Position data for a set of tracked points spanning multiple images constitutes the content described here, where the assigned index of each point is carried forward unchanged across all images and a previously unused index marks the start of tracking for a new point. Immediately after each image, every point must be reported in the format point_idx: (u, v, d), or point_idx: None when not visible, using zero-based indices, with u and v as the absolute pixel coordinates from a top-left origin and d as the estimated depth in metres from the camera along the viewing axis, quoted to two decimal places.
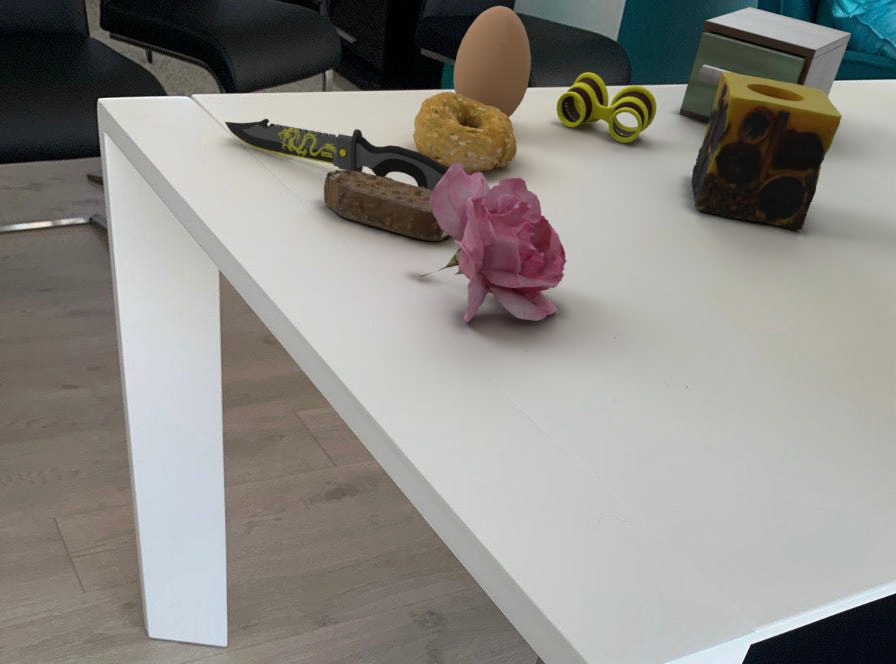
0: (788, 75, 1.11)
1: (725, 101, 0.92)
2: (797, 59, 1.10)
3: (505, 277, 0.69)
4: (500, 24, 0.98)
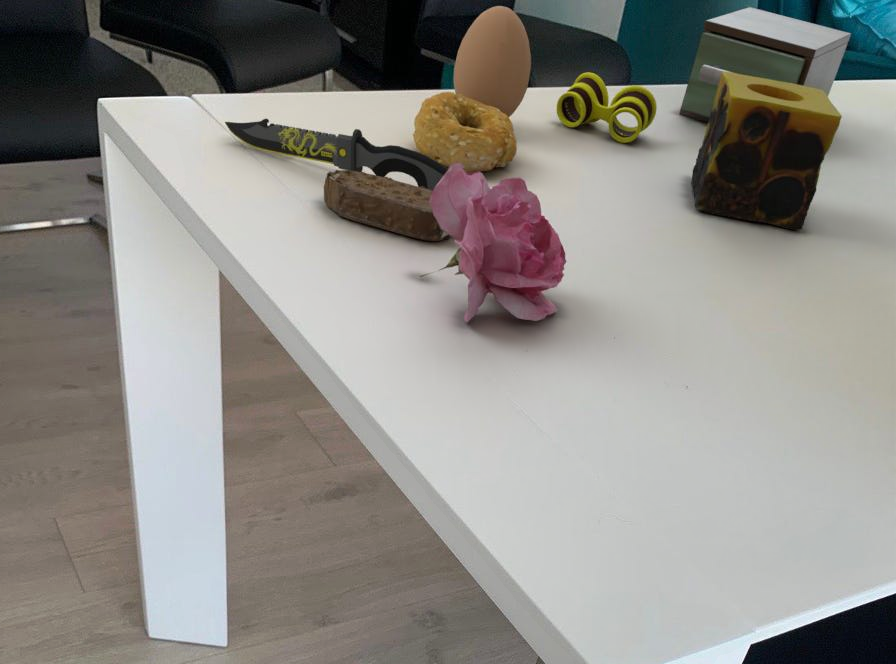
0: (788, 75, 1.11)
1: (725, 101, 0.92)
2: (797, 59, 1.10)
3: (505, 277, 0.69)
4: (500, 24, 0.98)
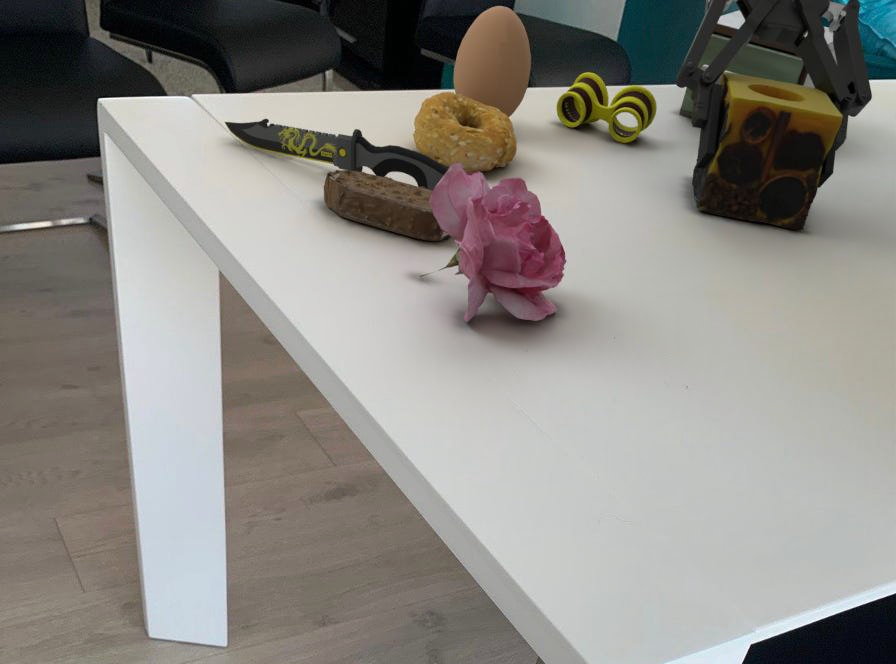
0: (788, 75, 1.11)
1: (726, 101, 0.92)
2: (797, 59, 1.10)
3: (505, 277, 0.69)
4: (500, 24, 0.98)
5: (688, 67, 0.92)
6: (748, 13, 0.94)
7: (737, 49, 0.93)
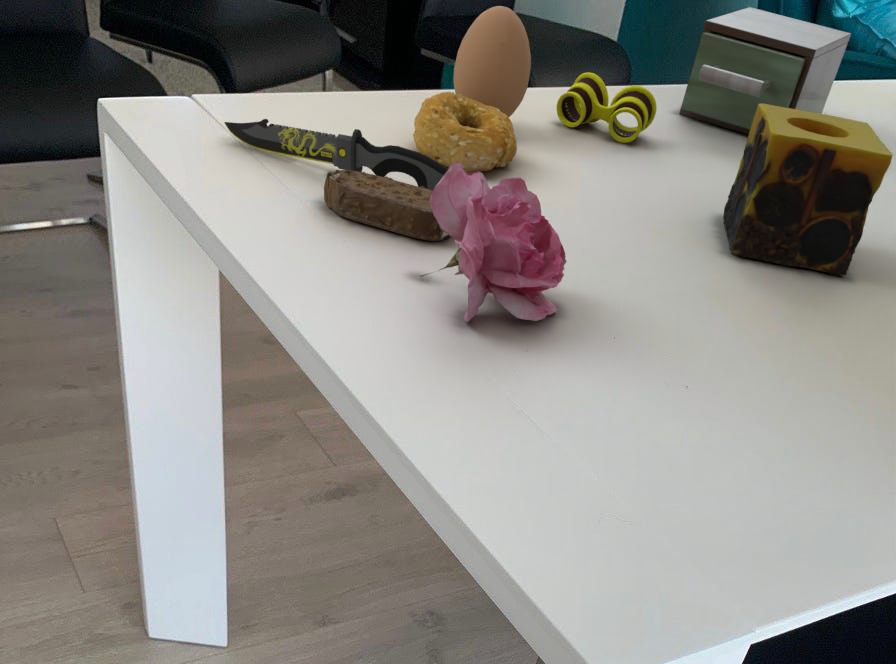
0: (788, 75, 1.11)
1: (763, 137, 0.85)
2: (797, 59, 1.10)
3: (505, 277, 0.69)
4: (500, 24, 0.98)
5: None
6: None
7: None
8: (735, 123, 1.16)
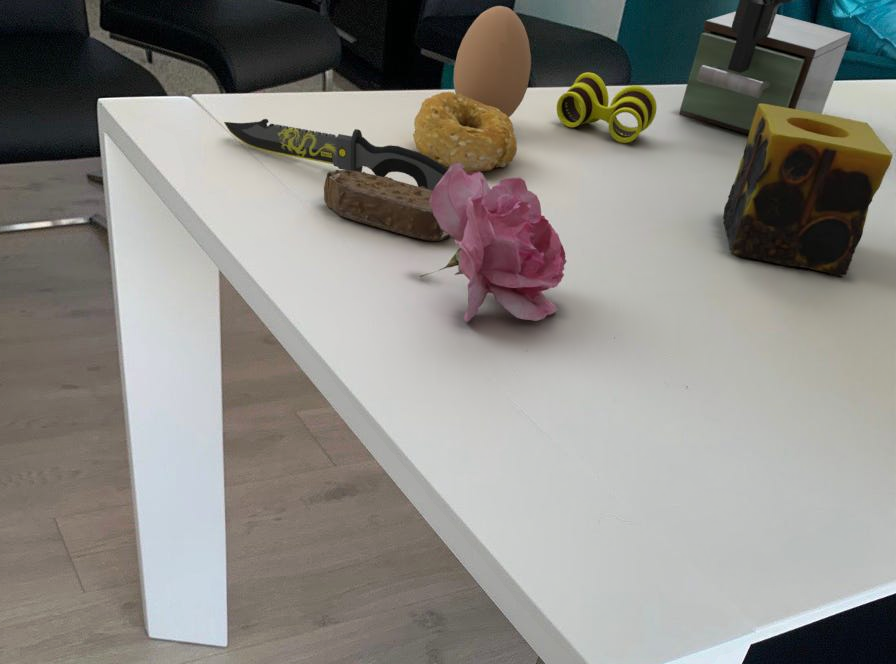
0: (787, 76, 1.11)
1: (763, 137, 0.85)
2: (796, 59, 1.10)
3: (505, 277, 0.69)
4: (500, 24, 0.98)
5: None
6: None
7: None
8: (734, 124, 1.16)
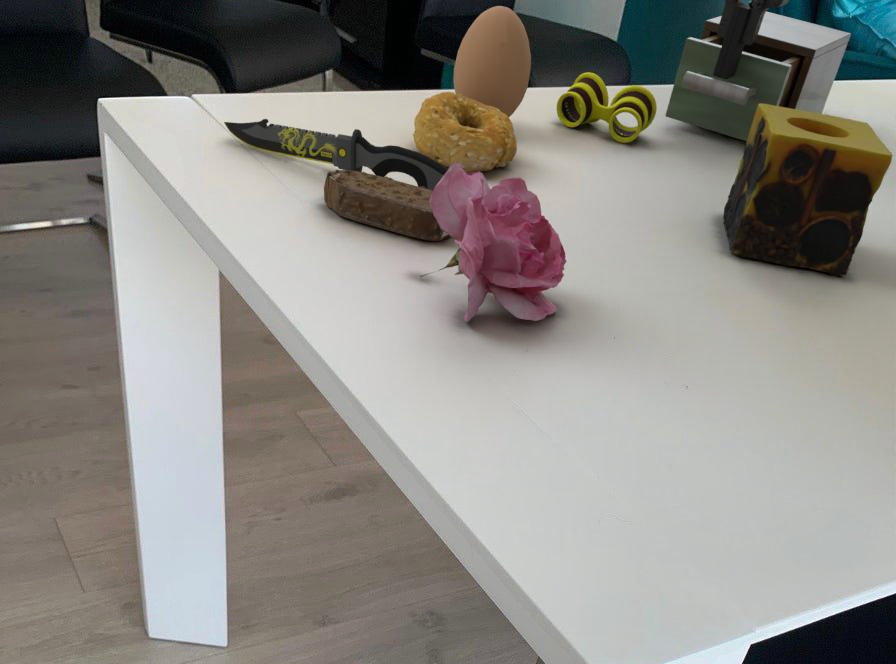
0: (774, 82, 1.08)
1: (763, 137, 0.85)
2: (783, 65, 1.07)
3: (505, 277, 0.69)
4: (500, 24, 0.98)
5: None
6: None
7: None
8: (720, 131, 1.13)
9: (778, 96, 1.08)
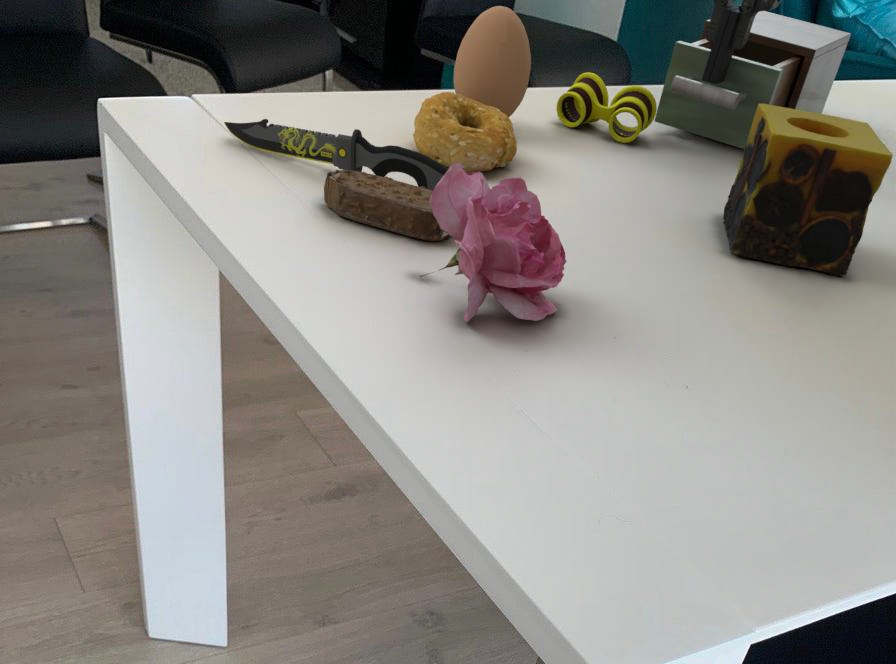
0: (765, 86, 1.06)
1: (763, 137, 0.85)
2: (774, 70, 1.04)
3: (505, 277, 0.69)
4: (500, 24, 0.98)
5: None
6: None
7: None
8: (710, 136, 1.11)
9: (769, 101, 1.06)
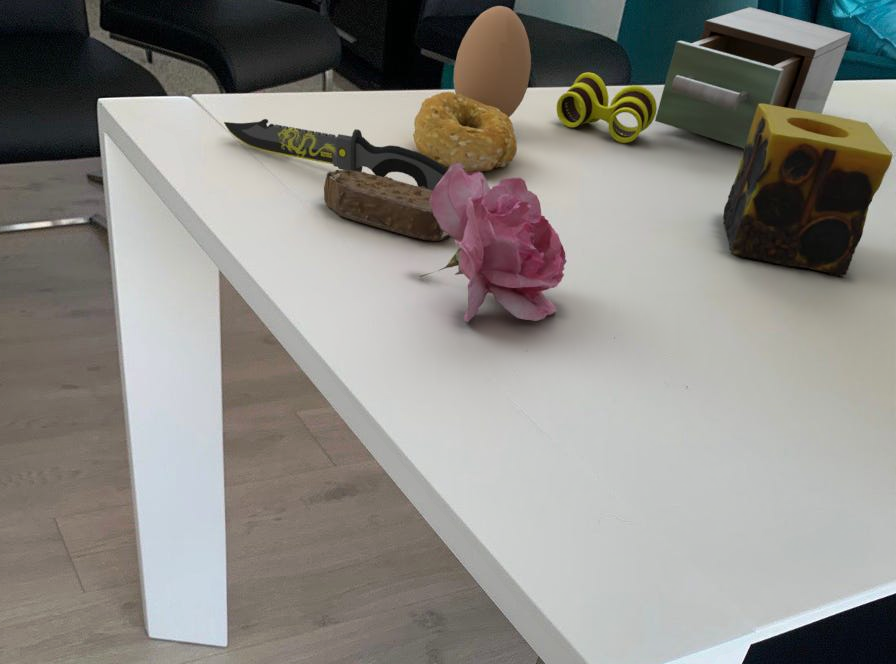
0: (765, 86, 1.06)
1: (763, 137, 0.85)
2: (775, 69, 1.04)
3: (505, 277, 0.69)
4: (500, 24, 0.98)
5: None
6: None
7: None
8: (711, 136, 1.11)
9: (769, 101, 1.06)
